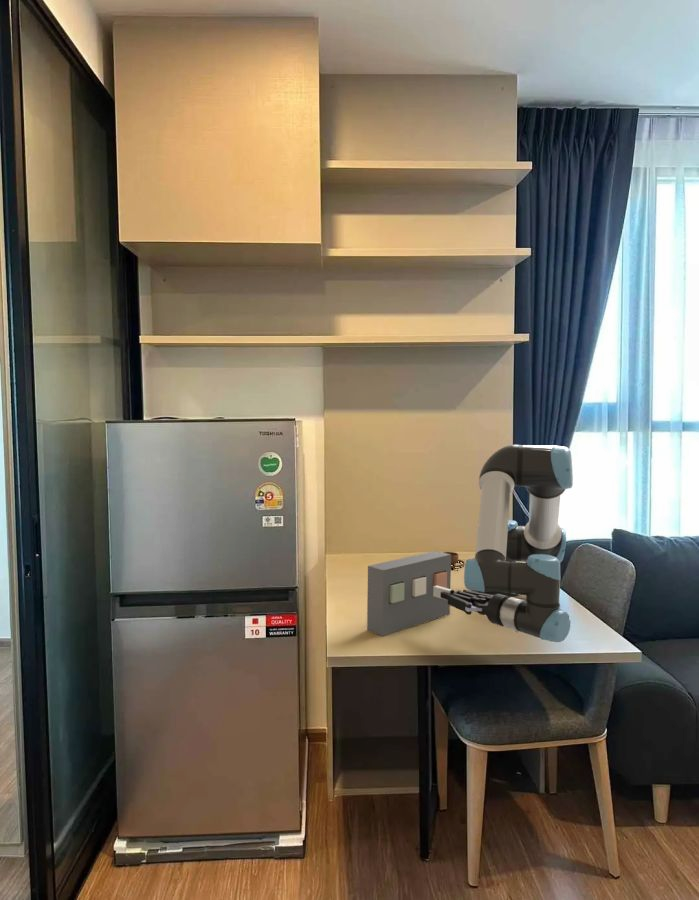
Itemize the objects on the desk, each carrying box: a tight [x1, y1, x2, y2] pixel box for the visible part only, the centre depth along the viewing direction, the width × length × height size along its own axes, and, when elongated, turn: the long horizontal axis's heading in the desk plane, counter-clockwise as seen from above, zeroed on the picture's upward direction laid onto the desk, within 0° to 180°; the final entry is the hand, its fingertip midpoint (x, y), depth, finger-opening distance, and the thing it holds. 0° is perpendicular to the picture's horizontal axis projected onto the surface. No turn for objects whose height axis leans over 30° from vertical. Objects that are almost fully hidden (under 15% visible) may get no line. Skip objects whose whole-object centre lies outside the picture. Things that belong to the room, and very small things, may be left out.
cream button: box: [412, 576, 426, 597], centre depth 188 cm, size 5×6×5 cm
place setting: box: [441, 551, 466, 569], centre depth 255 cm, size 18×20×6 cm
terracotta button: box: [433, 571, 447, 588], centre depth 194 cm, size 5×6×5 cm
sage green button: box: [389, 582, 404, 603], centre depth 182 cm, size 5×6×5 cm
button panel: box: [366, 550, 452, 637], centre depth 189 cm, size 28×6×18 cm, turn 132°
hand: (435, 590), depth 182 cm, fingers closed
